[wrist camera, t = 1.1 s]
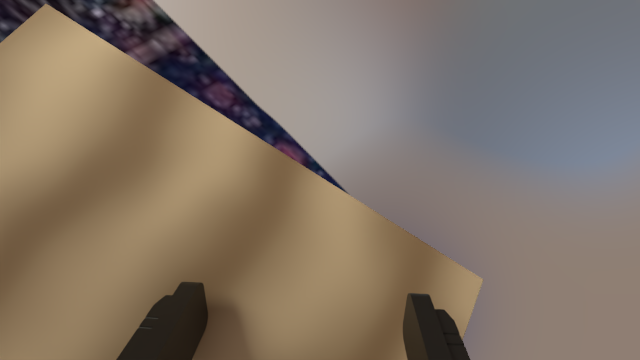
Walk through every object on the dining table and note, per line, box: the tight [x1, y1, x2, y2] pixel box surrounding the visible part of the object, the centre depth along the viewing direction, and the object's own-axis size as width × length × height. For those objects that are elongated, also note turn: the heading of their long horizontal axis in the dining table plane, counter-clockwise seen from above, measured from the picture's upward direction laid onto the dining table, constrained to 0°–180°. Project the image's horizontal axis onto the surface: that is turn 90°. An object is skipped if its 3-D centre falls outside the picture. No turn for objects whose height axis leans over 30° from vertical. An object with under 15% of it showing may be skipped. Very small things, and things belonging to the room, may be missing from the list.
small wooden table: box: [0, 4, 483, 360], centre depth 25 cm, size 24×14×24 cm, turn 61°
